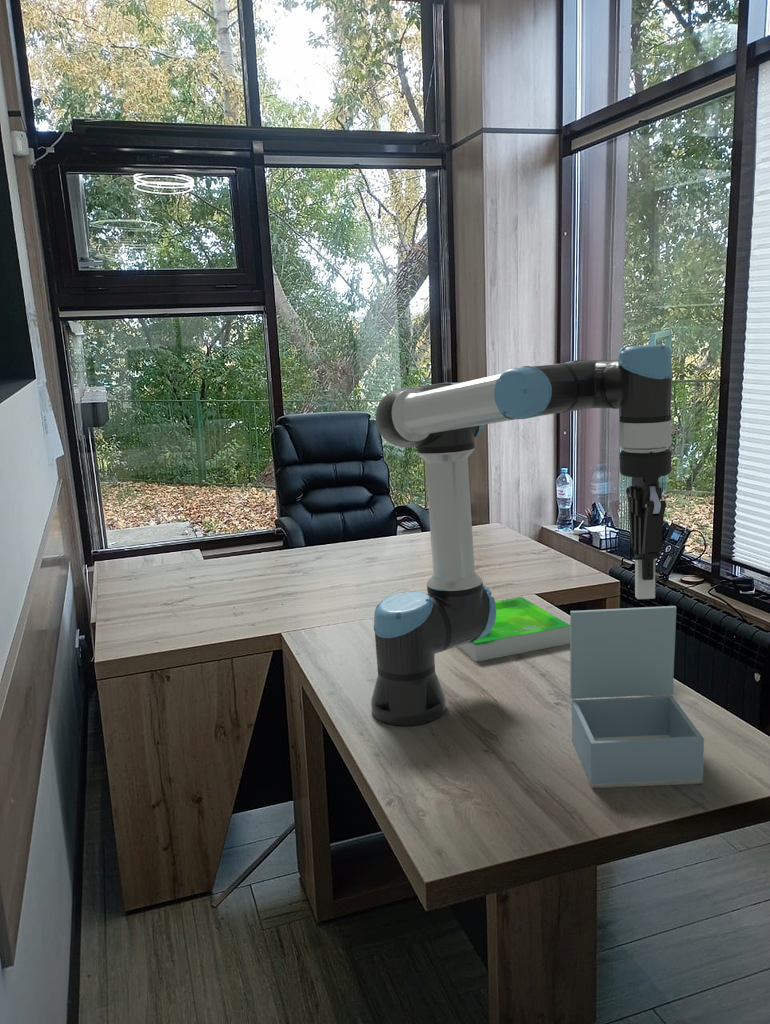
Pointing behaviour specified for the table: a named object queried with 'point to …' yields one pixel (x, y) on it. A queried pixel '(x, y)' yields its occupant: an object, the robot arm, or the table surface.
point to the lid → (622, 652)
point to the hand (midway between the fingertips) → (645, 597)
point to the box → (636, 742)
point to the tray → (518, 631)
